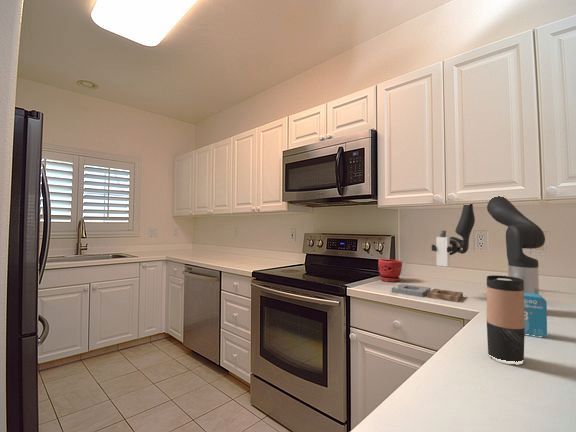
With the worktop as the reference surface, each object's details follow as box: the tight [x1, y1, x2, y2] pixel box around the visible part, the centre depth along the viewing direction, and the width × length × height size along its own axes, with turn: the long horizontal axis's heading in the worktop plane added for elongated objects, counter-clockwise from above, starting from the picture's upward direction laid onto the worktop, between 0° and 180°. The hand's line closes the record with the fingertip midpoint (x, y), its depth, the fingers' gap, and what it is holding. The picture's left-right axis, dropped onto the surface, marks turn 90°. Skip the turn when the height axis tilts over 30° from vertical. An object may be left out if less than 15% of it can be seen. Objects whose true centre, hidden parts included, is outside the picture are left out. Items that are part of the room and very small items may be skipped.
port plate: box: [391, 283, 432, 298], centre depth 144 cm, size 14×14×3 cm
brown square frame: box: [426, 288, 464, 303], centre depth 134 cm, size 12×12×2 cm
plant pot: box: [377, 258, 403, 283], centre depth 173 cm, size 13×13×12 cm
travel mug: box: [486, 274, 526, 362], centre depth 74 cm, size 8×8×20 cm
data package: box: [524, 293, 548, 338], centre depth 91 cm, size 12×4×12 cm, turn 60°
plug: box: [435, 230, 451, 267], centre depth 135 cm, size 4×4×16 cm
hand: (441, 249), depth 133 cm, fingers closed on plug, 4 cm apart
